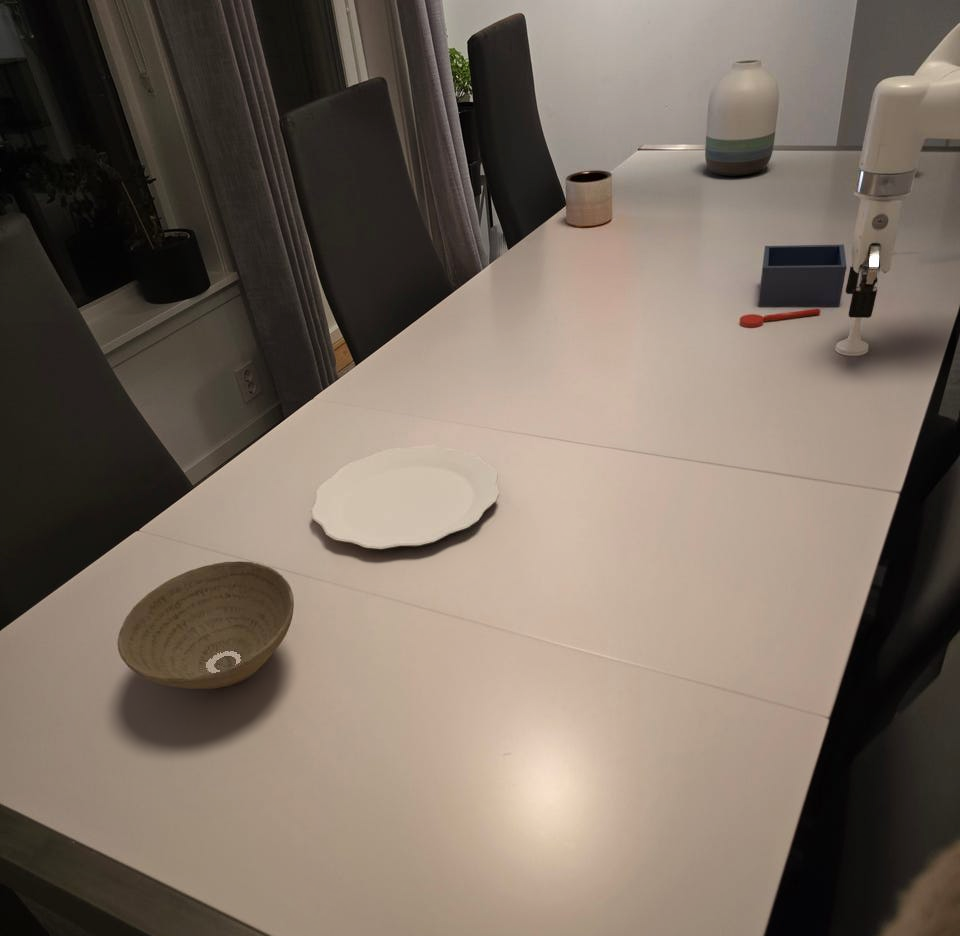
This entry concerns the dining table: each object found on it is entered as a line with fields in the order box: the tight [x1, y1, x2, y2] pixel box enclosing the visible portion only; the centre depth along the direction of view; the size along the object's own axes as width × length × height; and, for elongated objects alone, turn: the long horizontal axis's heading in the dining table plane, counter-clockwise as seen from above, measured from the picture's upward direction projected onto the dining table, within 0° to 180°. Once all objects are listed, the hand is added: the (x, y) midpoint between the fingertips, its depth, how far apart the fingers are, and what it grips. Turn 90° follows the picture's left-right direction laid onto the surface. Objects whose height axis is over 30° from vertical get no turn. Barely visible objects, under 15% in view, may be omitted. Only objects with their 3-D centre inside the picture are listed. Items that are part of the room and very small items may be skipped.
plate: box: [310, 444, 500, 551], centre depth 112 cm, size 25×25×2 cm
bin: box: [758, 244, 847, 308], centre depth 150 cm, size 14×12×7 cm
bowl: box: [117, 560, 295, 690], centre depth 88 cm, size 18×18×8 cm
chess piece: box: [834, 317, 869, 357], centre depth 130 cm, size 5×5×10 cm
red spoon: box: [739, 308, 821, 329], centre depth 145 cm, size 14×4×1 cm, turn 94°
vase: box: [704, 58, 780, 177], centre depth 210 cm, size 17×17×24 cm
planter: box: [565, 169, 613, 228], centre depth 195 cm, size 11×11×10 cm
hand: (857, 304), depth 129 cm, fingers open, 9 cm apart
